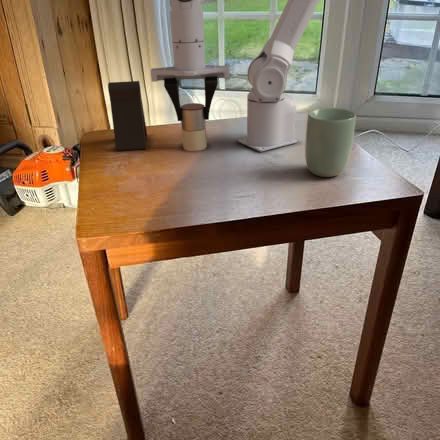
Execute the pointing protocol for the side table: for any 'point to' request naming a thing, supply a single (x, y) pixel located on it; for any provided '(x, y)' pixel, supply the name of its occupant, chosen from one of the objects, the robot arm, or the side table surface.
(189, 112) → the cylinder
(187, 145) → the pale yellow short cylinder
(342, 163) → the cup
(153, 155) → the side table surface
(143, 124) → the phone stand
